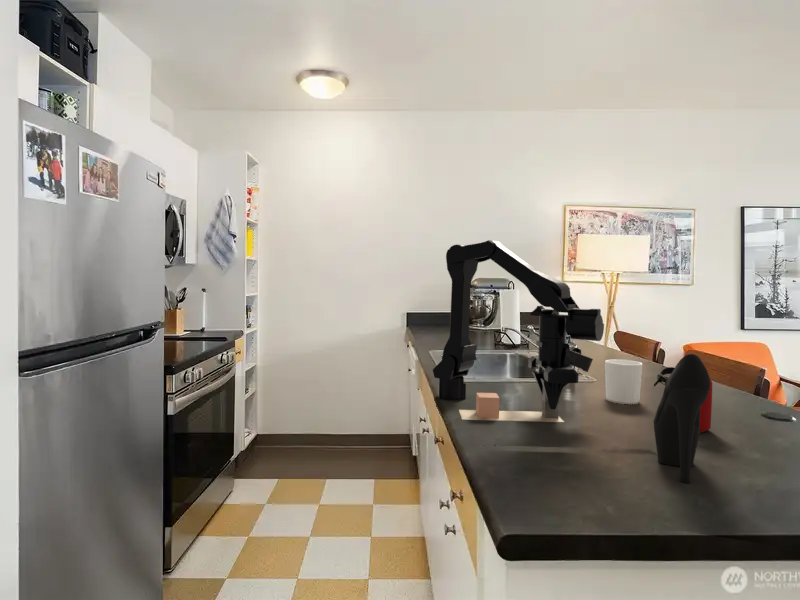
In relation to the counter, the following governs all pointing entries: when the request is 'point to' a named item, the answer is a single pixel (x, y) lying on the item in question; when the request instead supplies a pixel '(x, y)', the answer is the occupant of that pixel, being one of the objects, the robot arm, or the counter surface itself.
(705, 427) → the beverage can
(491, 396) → the block
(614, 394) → the mug
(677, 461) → the high-heeled shoe
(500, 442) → the counter surface
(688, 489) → the counter surface
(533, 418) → the strip
